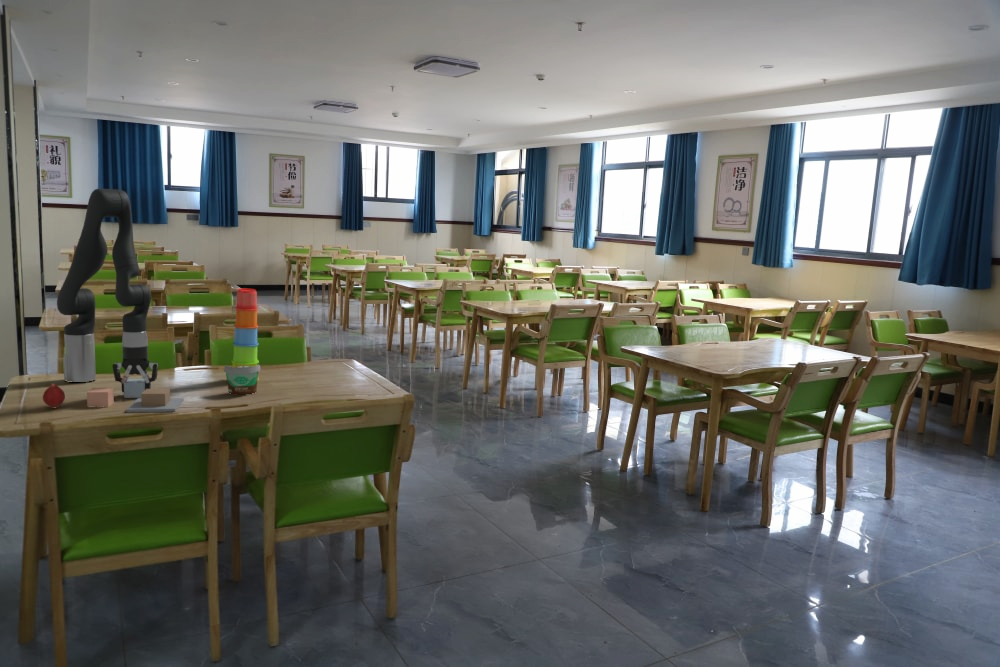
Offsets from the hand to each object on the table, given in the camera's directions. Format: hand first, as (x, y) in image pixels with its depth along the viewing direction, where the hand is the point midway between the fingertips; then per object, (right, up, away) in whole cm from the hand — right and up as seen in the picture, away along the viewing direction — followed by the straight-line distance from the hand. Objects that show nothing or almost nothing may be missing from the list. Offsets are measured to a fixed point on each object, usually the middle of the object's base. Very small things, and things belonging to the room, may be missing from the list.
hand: (136, 393), depth 247 cm
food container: (+33, -1, +10) cm, 34 cm away
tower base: (+12, -3, -11) cm, 17 cm away
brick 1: (-5, -3, -12) cm, 14 cm away
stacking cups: (+26, +2, +31) cm, 40 cm away
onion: (-16, -3, -19) cm, 25 cm away
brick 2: (0, -1, 0) cm, 1 cm away
